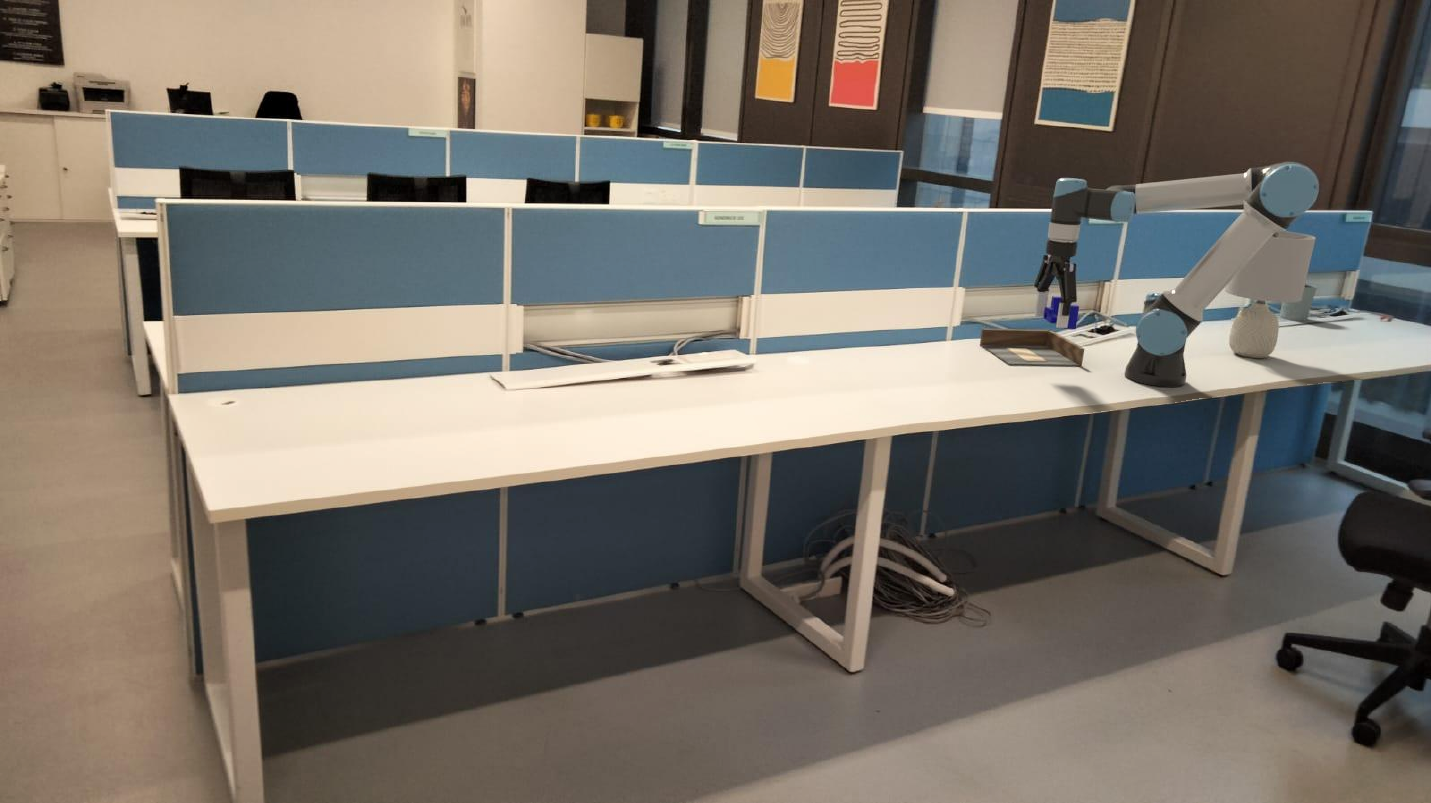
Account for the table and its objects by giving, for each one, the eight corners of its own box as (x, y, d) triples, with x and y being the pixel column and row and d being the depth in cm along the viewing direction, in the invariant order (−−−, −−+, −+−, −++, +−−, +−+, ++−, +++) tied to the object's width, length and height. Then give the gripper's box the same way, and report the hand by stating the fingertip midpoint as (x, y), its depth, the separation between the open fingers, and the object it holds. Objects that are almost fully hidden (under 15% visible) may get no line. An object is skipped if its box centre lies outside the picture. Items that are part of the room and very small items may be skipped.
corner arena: (1081, 366, 288) (1084, 348, 286) (1008, 365, 285) (1011, 347, 283) (1048, 346, 308) (1050, 330, 306) (979, 345, 305) (982, 328, 303)
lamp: (1269, 367, 297) (1297, 239, 286) (1199, 351, 312) (1224, 228, 301) (1299, 358, 310) (1327, 234, 298) (1231, 343, 324) (1256, 224, 313)
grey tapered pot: (1279, 319, 364) (1287, 285, 361) (1274, 313, 373) (1282, 280, 370) (1312, 323, 361) (1320, 288, 358) (1306, 317, 370) (1314, 283, 367)
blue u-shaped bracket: (1043, 318, 280) (1046, 296, 278) (1059, 318, 280) (1063, 296, 278) (1058, 328, 268) (1061, 305, 266) (1075, 329, 268) (1079, 306, 267)
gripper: (1099, 248, 256) (1085, 333, 263) (1055, 233, 279) (1043, 311, 286) (1071, 247, 255) (1058, 332, 262) (1028, 232, 278) (1017, 311, 285)
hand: (1050, 321), depth 274 cm, fingers closed on blue u-shaped bracket, 12 cm apart
